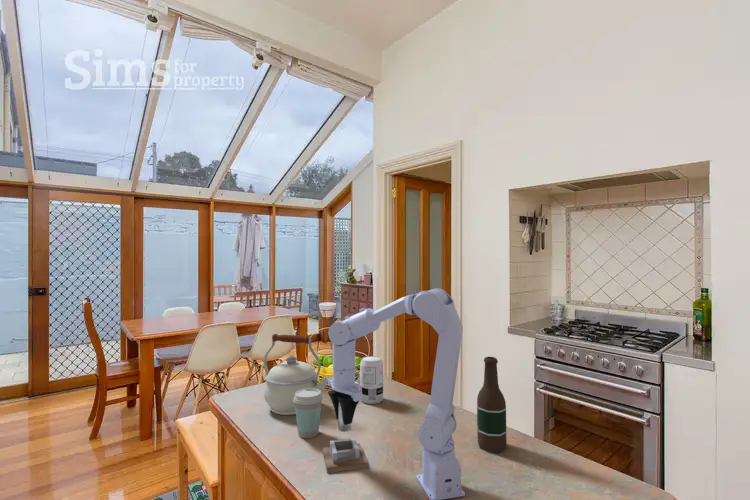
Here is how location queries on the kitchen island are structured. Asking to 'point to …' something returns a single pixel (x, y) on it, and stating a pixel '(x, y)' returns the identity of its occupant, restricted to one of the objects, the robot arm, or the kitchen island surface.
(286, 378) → the kettle
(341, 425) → the shaft
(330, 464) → the block
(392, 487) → the kitchen island surface
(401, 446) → the kitchen island surface
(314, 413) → the coffee cup
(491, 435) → the beer bottle
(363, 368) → the supplement can
